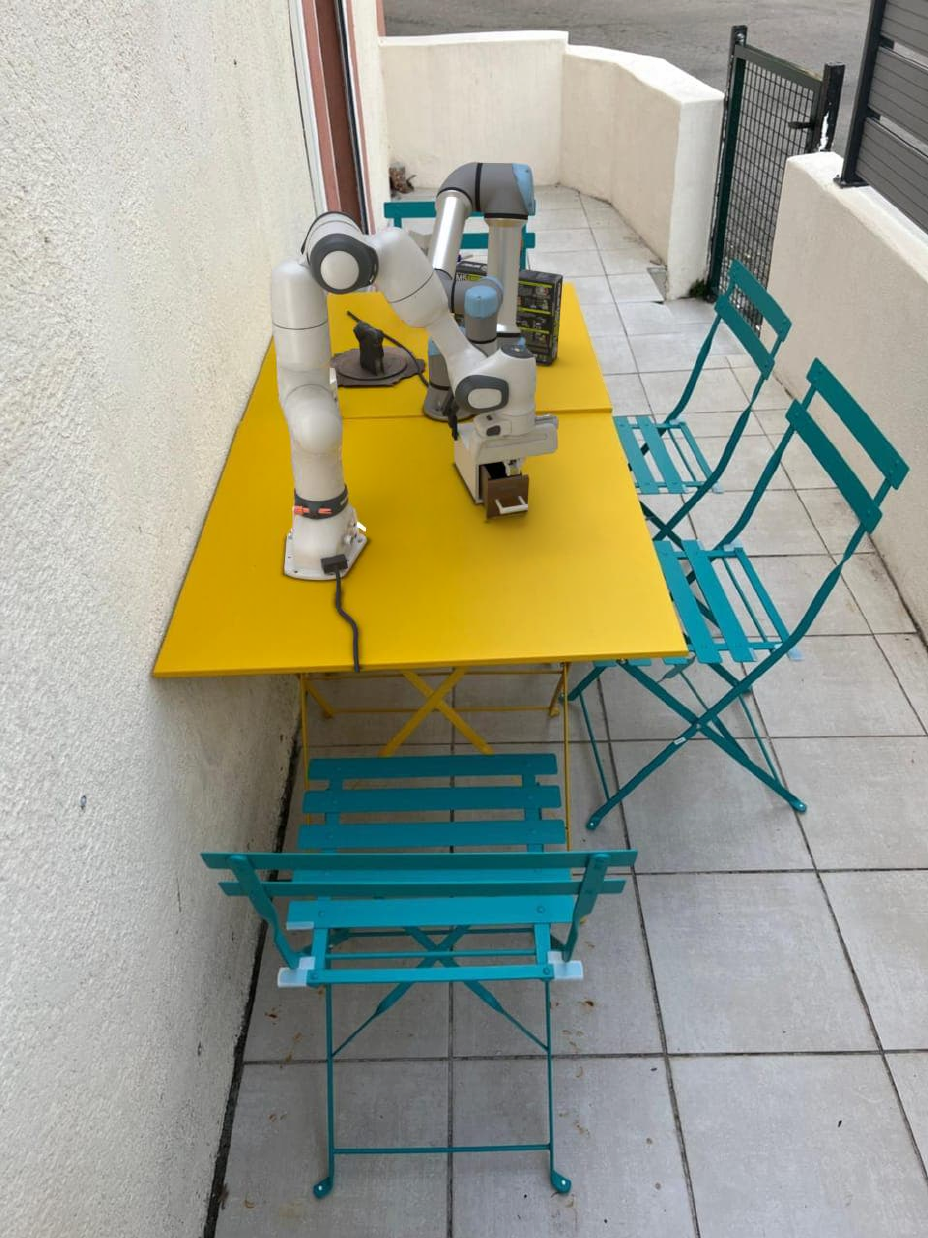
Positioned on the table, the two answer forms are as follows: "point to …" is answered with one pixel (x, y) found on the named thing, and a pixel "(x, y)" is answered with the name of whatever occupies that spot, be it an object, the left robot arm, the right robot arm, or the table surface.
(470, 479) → the cabinet
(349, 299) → the table surface
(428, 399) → the right robot arm
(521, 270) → the box
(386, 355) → the sculpture
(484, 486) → the drawer
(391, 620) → the table surface
